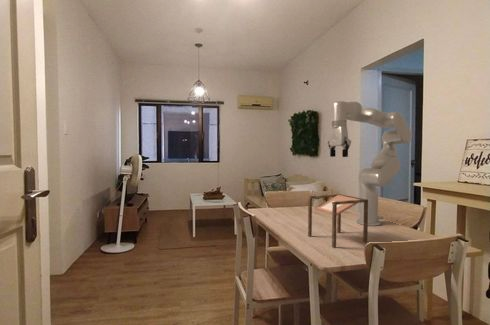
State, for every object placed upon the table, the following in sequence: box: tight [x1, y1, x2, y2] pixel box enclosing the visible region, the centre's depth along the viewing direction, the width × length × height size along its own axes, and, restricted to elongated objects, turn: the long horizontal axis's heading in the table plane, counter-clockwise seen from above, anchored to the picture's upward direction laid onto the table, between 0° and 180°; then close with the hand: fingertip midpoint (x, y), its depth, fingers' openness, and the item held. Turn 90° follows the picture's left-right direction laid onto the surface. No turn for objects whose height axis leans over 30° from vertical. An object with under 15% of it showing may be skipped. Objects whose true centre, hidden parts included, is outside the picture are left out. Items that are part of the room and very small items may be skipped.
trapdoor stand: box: [307, 193, 369, 249], centre depth 138 cm, size 19×19×20 cm
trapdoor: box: [314, 194, 361, 215], centre depth 137 cm, size 16×15×1 cm
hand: (338, 156), depth 159 cm, fingers open, 9 cm apart
